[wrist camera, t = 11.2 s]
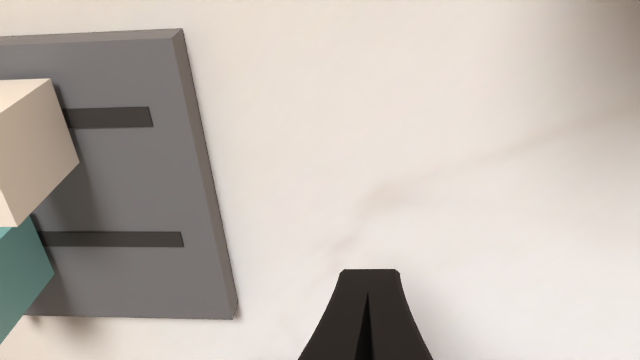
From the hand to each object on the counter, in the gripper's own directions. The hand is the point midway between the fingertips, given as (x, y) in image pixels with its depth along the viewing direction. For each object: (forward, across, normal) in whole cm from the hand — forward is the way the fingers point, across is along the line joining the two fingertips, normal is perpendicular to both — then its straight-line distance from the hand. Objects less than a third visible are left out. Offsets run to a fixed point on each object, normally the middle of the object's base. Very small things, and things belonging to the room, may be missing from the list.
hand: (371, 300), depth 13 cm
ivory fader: (+8, +13, -1) cm, 16 cm away
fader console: (+10, +13, +3) cm, 17 cm away
